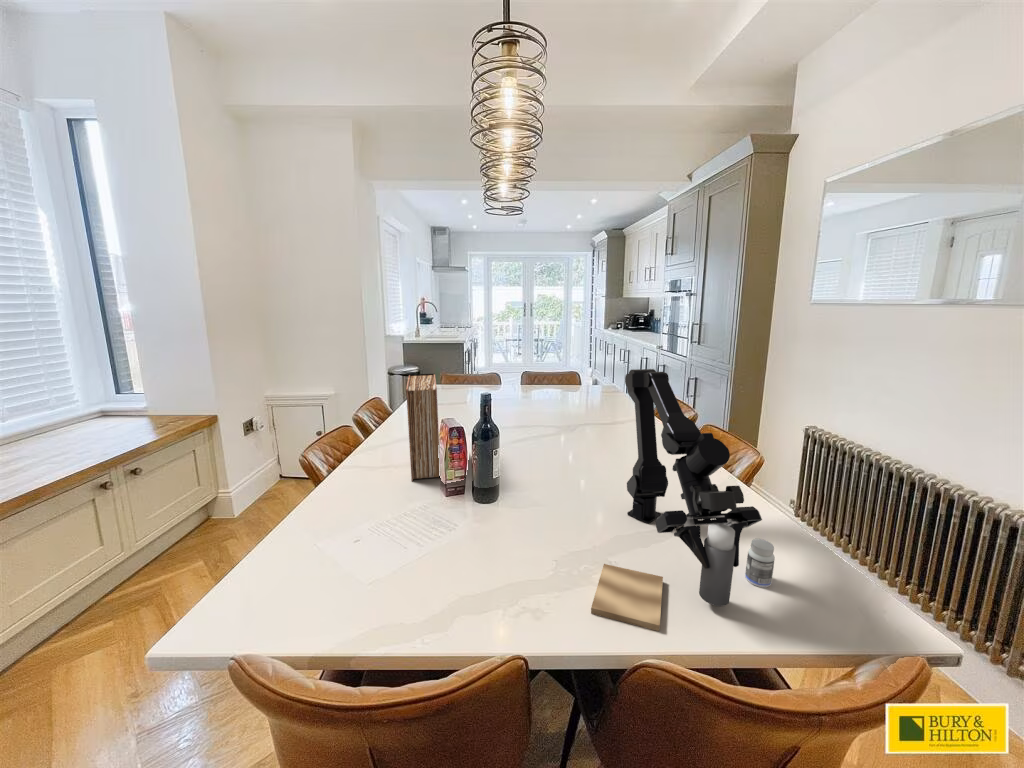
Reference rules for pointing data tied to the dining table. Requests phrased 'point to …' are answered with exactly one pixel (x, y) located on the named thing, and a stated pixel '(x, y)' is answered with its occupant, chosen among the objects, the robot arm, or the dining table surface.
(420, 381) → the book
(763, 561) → the pill bottle
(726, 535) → the pepper mill
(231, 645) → the dining table surface
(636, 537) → the dining table surface
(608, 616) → the serving board
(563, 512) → the dining table surface
